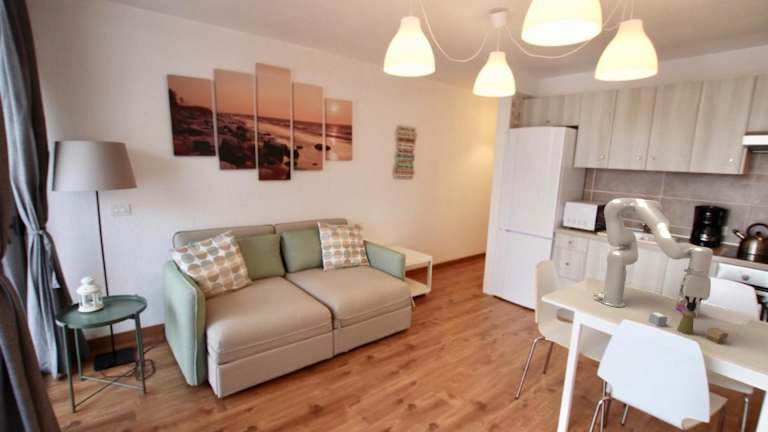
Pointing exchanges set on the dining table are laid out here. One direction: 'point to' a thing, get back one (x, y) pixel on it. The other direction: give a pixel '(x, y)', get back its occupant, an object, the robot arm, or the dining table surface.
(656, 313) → the slate grey block
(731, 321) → the dining table surface
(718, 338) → the light brown cube
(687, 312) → the cork
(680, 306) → the candy bar box
